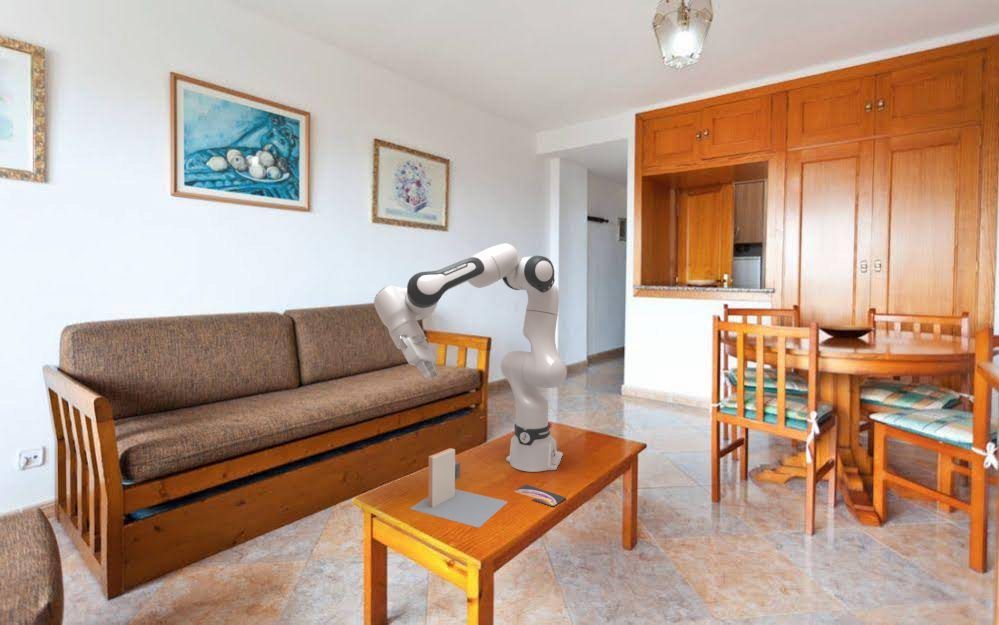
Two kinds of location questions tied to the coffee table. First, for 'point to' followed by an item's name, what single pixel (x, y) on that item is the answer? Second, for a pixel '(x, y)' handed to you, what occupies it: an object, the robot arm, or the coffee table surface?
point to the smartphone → (541, 495)
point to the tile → (441, 477)
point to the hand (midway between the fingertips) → (432, 377)
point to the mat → (463, 508)
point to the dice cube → (457, 470)
